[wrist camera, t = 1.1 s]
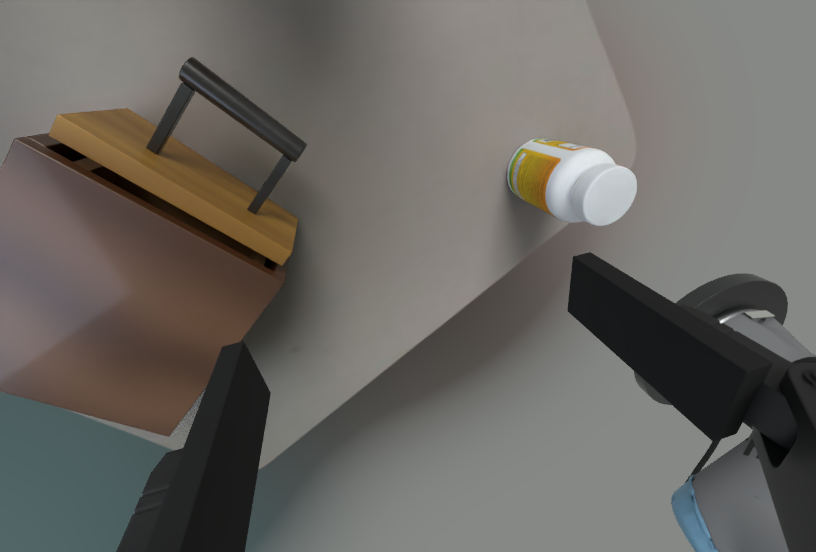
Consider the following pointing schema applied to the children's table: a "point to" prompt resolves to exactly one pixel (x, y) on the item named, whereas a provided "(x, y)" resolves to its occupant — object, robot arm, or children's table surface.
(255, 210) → the drawer
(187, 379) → the cabinet
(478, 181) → the children's table surface
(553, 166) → the supplement bottle
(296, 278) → the children's table surface
